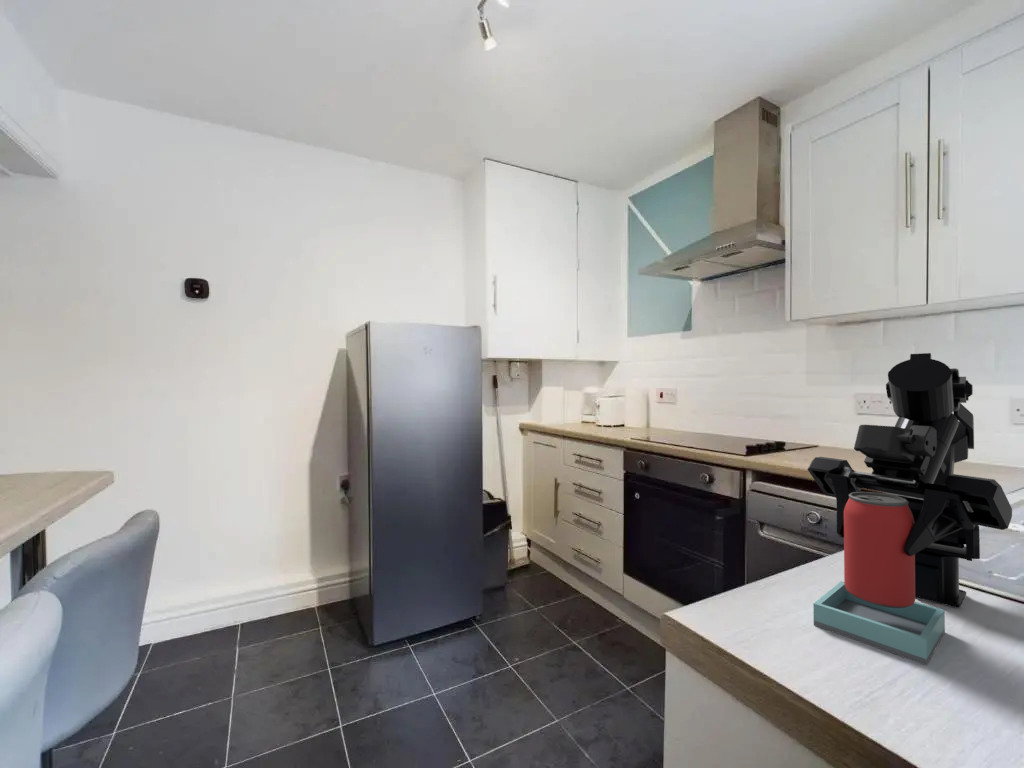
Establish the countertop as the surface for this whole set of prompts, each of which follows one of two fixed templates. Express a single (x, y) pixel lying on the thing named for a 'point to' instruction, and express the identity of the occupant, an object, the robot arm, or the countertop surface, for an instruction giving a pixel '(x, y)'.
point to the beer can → (878, 549)
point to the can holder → (882, 624)
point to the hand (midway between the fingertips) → (871, 543)
